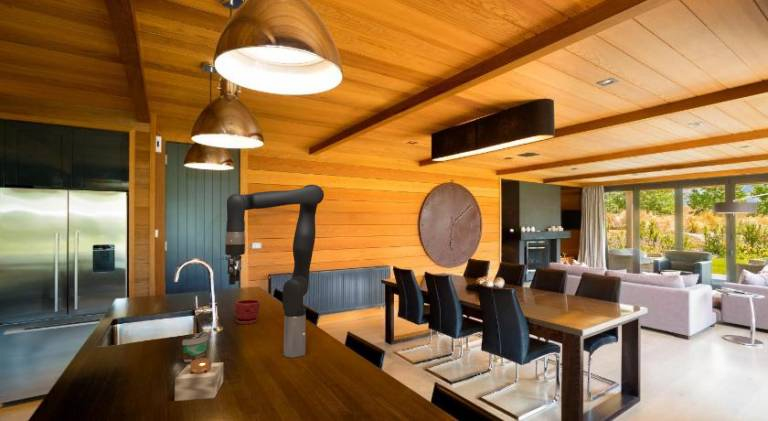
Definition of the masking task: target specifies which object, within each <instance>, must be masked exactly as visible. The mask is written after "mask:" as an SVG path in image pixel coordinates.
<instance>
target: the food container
mask: <svg viewBox="0 0 768 421" xmlns="http://www.w3.org/2000/svg"><path fill="white" fill-rule="evenodd" d="M209 340H210V337H209V334H208V332H206V331H202V332H201V333H200V334H197V335H194V336H191V337H190V338H189V339H185V338H184V339H182V342H181V343H182V344H181V345H182V346H183V347H182V348H183V363H184V364H186V365H190V363H191V362H192V361H193V360H196V359H200V358H206V356H207V355H206V354H207V344H208V341H209Z"/></svg>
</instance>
